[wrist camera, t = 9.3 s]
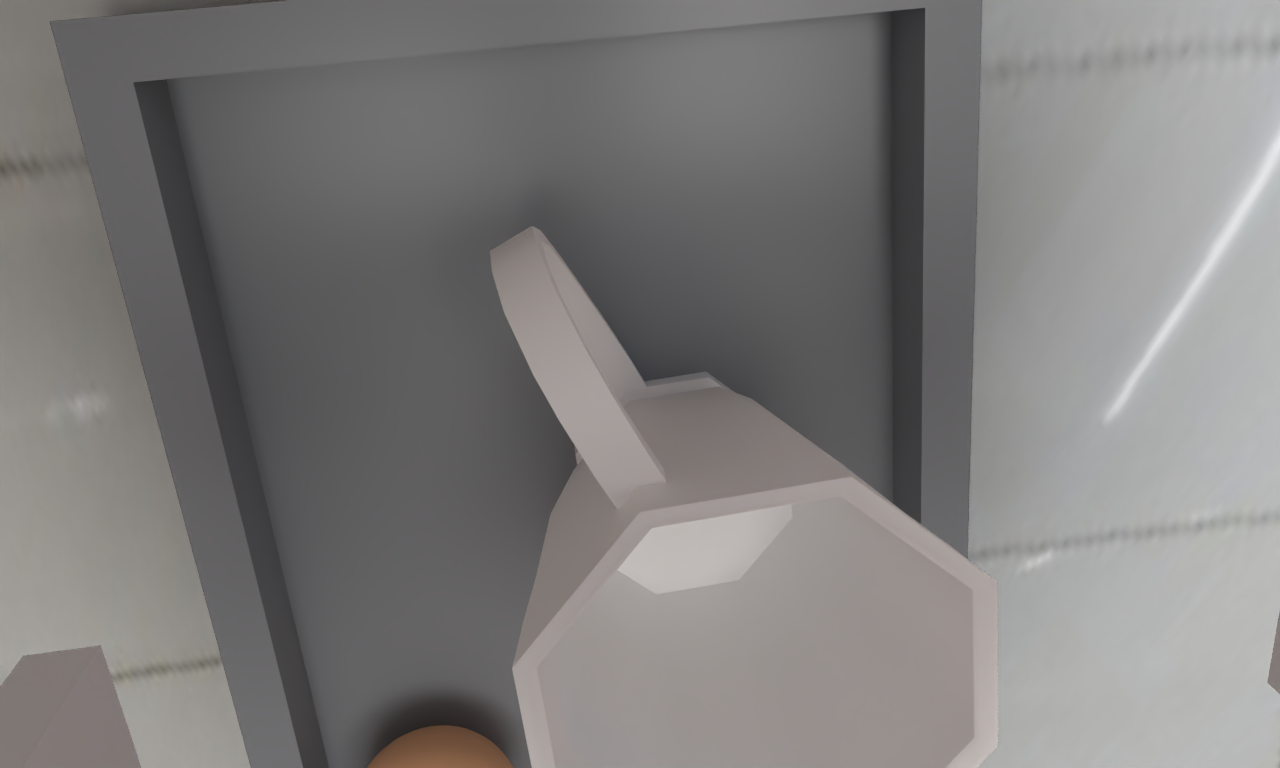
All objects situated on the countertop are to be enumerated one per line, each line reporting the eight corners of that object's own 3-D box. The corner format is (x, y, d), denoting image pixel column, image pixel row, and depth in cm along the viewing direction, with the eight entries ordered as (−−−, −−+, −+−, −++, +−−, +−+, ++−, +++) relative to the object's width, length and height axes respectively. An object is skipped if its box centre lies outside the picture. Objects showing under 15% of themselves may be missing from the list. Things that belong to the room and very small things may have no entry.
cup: (615, 667, 23) (668, 989, 15) (352, 295, 19) (248, 469, 12) (892, 512, 22) (1090, 763, 15) (673, 103, 19) (783, 153, 11)
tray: (107, 22, 18) (50, 21, 16) (927, -51, 19) (983, -62, 17) (326, 890, 25) (307, 977, 22) (920, 794, 26) (959, 867, 24)
